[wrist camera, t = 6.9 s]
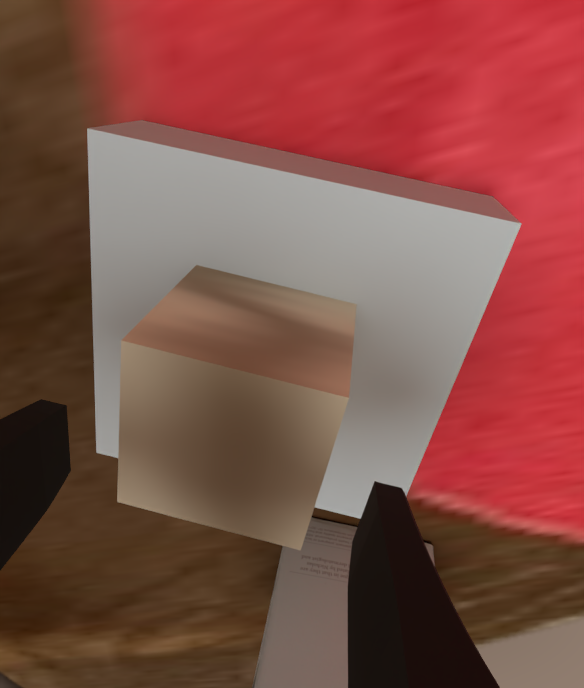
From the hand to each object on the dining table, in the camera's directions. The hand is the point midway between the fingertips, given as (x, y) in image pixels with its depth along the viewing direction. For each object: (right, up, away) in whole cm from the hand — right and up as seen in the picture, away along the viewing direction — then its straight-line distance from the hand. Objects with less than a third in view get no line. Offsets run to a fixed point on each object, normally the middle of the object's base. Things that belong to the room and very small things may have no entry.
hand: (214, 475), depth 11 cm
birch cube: (+1, +3, +5) cm, 6 cm away
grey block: (+2, +4, +8) cm, 10 cm away
